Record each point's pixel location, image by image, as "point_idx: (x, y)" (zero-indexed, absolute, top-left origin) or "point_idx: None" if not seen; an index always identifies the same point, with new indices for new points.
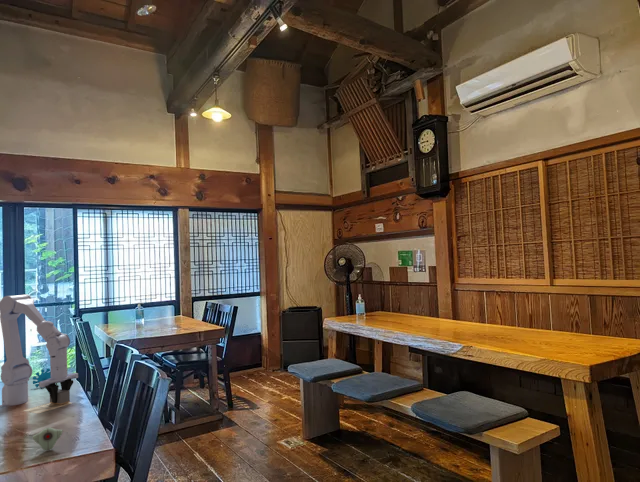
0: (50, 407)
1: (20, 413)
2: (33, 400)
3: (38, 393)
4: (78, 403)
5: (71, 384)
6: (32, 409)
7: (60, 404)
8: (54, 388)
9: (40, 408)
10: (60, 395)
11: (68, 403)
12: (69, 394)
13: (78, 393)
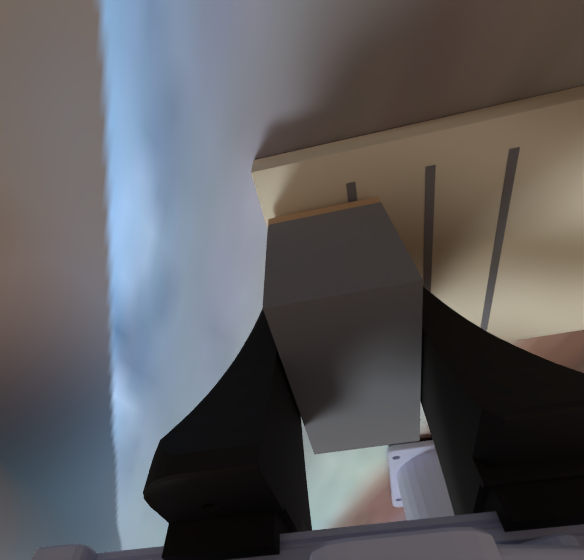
0: (467, 218)
1: (568, 334)
2: (354, 476)
3: None
4: (180, 206)
5: (198, 417)
6: (558, 298)
7: (379, 202)
8: (556, 377)
9: (517, 270)
10: (411, 258)
11: (290, 196)
12: (266, 269)
13: (129, 435)
